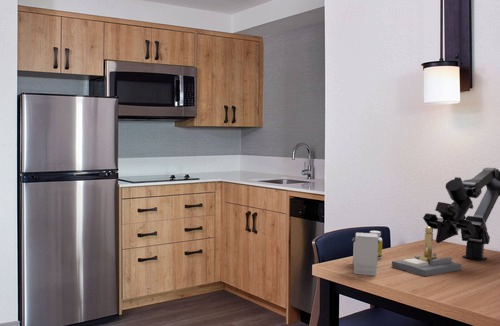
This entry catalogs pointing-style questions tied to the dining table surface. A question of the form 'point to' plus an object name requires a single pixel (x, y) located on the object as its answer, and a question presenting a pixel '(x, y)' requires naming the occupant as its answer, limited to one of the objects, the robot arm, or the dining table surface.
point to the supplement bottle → (379, 243)
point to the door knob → (428, 246)
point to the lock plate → (429, 266)
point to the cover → (415, 262)
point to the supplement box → (365, 254)
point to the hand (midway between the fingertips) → (437, 242)
